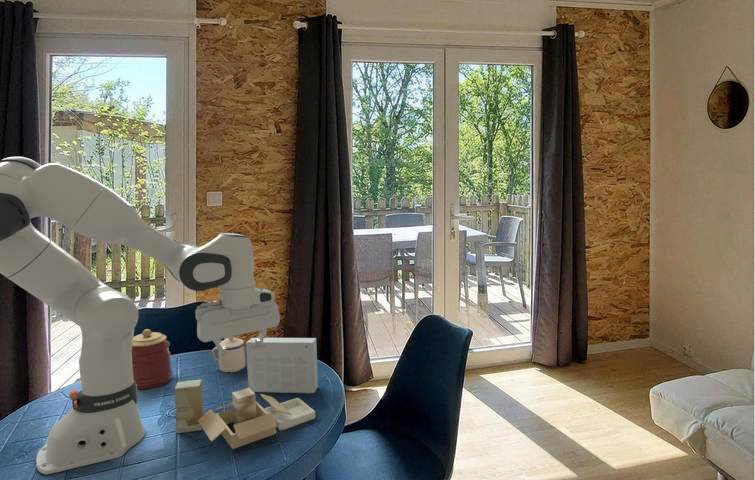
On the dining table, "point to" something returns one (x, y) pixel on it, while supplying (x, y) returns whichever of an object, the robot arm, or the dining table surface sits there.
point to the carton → (241, 424)
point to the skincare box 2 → (282, 365)
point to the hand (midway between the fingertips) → (241, 350)
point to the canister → (151, 359)
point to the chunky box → (243, 405)
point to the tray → (292, 413)
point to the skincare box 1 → (188, 405)
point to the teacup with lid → (231, 355)
